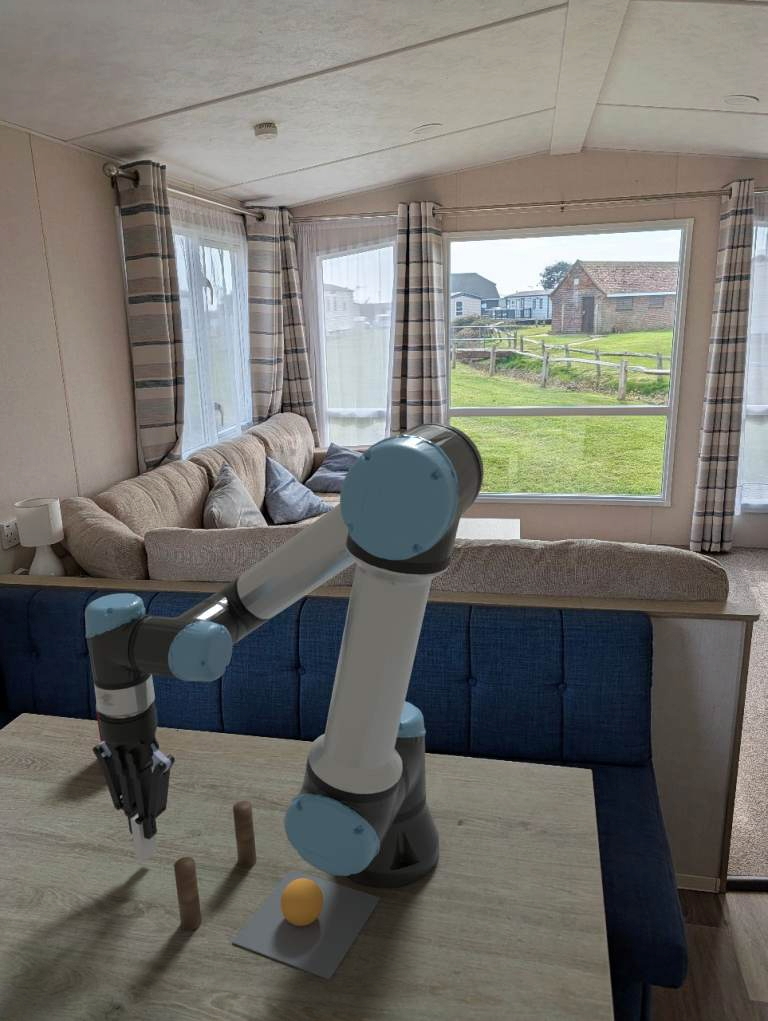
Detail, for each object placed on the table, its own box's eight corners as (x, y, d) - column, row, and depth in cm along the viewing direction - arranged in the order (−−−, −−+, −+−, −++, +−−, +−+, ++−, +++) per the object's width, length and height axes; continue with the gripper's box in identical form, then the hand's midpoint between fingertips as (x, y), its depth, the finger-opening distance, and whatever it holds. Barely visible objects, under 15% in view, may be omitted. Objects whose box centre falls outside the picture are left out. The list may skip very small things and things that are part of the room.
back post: (259, 857, 110) (255, 803, 108) (249, 868, 108) (244, 814, 106) (245, 852, 111) (240, 799, 109) (234, 864, 109) (229, 809, 107)
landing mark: (380, 898, 101) (380, 897, 101) (329, 980, 89) (329, 978, 89) (291, 870, 107) (291, 869, 107) (232, 943, 95) (232, 942, 95)
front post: (205, 918, 99) (199, 860, 97) (193, 933, 97) (185, 873, 95) (189, 912, 100) (183, 854, 98) (177, 926, 98) (169, 867, 96)
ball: (303, 861, 100) (289, 887, 102) (280, 889, 95) (266, 915, 97) (336, 887, 98) (322, 913, 100) (315, 917, 93) (300, 944, 96)
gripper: (70, 710, 103) (92, 858, 108) (144, 728, 97) (164, 883, 103) (111, 685, 109) (130, 827, 115) (182, 701, 104) (199, 849, 110)
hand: (146, 853), depth 109 cm, fingers closed
